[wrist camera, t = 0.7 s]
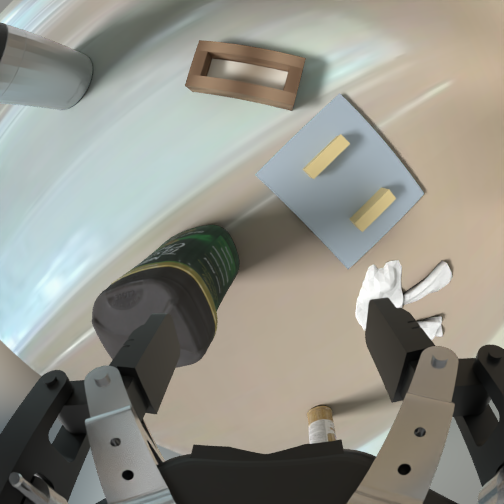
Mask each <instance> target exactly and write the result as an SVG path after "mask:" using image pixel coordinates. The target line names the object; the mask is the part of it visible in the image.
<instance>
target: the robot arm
mask: <svg viewBox="0 0 504 504" xmlns="http://www.w3.org/2000/svg"><path fill="white" fill-rule="evenodd" d="M92 72H93V68H92V62H91V60H90V58H89V57H88V56H86V55H85V54H83V53H80V52H78V51H76V50H73V49H71V48H69V47H67V46H64V45H62V44H60V43H57V42H55V41H52V40H50V39H47V38H44V37H42V36H39V35H36V34H34V33H31V32H28V31H25V30H22V29H19V28H16V27H13V26H10V25H6V24H3V23H0V103H1V104H14V105H25V106H34V107H42V108H50V109H58V110H65V109H68V108H70V107H72V106H73V105H75V104H76V103H77V102H78V101H79V100H80V99H81V98H82V96H83V95H84V94H85V92H86V90H87V88H88V86H89V84H90V81H91V78H92ZM365 338H366V344H367V347H368V349H369V352H370V354H371V356H372V358H373V360H374V363H375V365H376V367H377V369H378V371H379V374H380V376H381V378H382V380H383V383H384V385H385V387H386V390H387V392H388V394H389V397H390V399H391V402H397V401H401V400H403V403H402V405H401V408H400V410H399V412H398V414H397V417H396V419H395V421H394V423H393V425H392V427H391V429H390V432H389V434H388V436H387V438H386V440H385V442H384V443H383V445H382V447H381V449H380V451H379V453H378V455H377V457H375V456H373V455H371V454H368V453H365V452H361V451H357V450H350V449H343V445H342V440H335V441H328V442H321V443H312V444H304V445H301V446H297V447H294V448H290V449H287V450H283V451H279V452H275V453H271V454H260V453H255V452H250V451H245V450H240V449H236V448H232V447H222V446H205V445H193V449H192V453H191V454H187V455H182V456H178V457H175V458H172V459H169V460H167V461H165V460H164V458H163V457H162V455H161V453H160V451H159V449H158V447H157V445H156V443H155V441H154V439H153V437H152V435H151V433H150V431H149V429H148V427H147V425H146V423H145V421H144V419H143V417H144V415H145V413H151V414H157V412H158V409H159V407H160V404H161V402H162V399H163V397H164V394H165V392H166V389H167V387H168V384H169V382H170V380H171V377H172V375H173V372H174V370H175V367H176V365H177V363H178V360H179V357H180V344H179V340H178V337H177V333H176V329H175V326H174V322H173V318H172V316H171V314H169V313H155V314H151V316H150V317H149V318H148V320H147V321H146V323H145V324H144V325H141V326H139V327H138V328H137V329H135V330H134V331H133V332H132V333H131V334H130V336H129V337H128V339H127V340H126V342H125V343H124V344H123V347H121V349H120V350H119V352H118V353H117V354H116V356H115V357H114V359H113V360H112V362H111V363H110V365H109V366H101V367H98V368H95V369H93V370H92V371H91V372H89V373H88V374H87V376H86V377H85V380H80V381H69V379H68V377H67V375H66V374H65V373H64V372H63V371H60V370H54V371H50V372H48V373H46V374H44V375H43V376H42V377H41V378H40V379H39V380H38V382H37V383H36V384H35V386H34V387H33V388H32V390H31V391H30V393H29V394H28V395H27V396H26V398H25V399H24V401H23V402H22V403H21V405H20V406H19V407H18V409H17V410H16V412H15V413H14V415H13V416H12V418H11V419H10V420H9V422H8V423H7V425H6V426H5V428H4V430H3V431H2V433H1V434H0V504H68V500H69V497H70V495H71V492H72V489H73V487H74V484H75V482H76V480H77V477H78V475H79V472H80V470H81V468H82V465H83V463H84V460H85V458H86V456H87V453H88V451H89V449H90V447H91V451H92V455H93V459H94V462H95V466H96V470H97V473H98V476H99V479H100V483H101V486H102V489H103V491H104V494H105V497H106V498H105V499H103V500H101V501H100V502H98V503H96V504H457V503H456V502H454V501H452V500H450V499H448V498H446V497H444V496H442V495H440V494H438V493H436V492H435V491H433V490H431V489H429V488H430V485H431V483H432V480H433V477H434V475H435V472H436V470H437V467H438V464H439V461H440V458H441V455H442V452H443V449H444V446H445V442H446V439H447V435H448V432H449V428H450V424H451V420H452V417H454V418H455V420H456V422H457V425H458V427H459V429H460V431H461V433H462V436H463V438H464V440H465V443H466V445H467V448H468V450H469V452H470V455H471V457H472V460H473V463H474V465H475V468H476V470H477V473H478V476H479V479H480V482H481V485H482V489H481V490H480V493H479V496H478V503H477V504H504V349H503V348H501V347H499V346H496V345H485V346H483V347H481V348H480V349H479V351H478V353H477V356H476V358H467V359H458V357H457V355H456V354H455V353H454V352H453V351H452V350H450V349H448V348H446V347H442V346H435V345H434V343H433V342H432V341H431V339H430V338H429V337H428V335H427V334H426V333H425V332H424V330H423V329H422V328H420V325H419V324H418V323H417V322H416V320H415V319H414V318H413V316H412V315H411V314H410V313H409V312H407V311H406V310H404V309H402V308H401V307H400V308H396V307H395V305H394V304H393V303H392V301H391V300H390V299H389V298H388V297H386V298H378V299H371V300H370V301H369V304H368V314H367V323H366V332H365ZM491 399H492V401H493V403H494V404H495V406H496V408H497V410H498V411H499V415H500V420H499V422H498V420H497V418H496V416H495V415H494V413H493V411H492V409H491V408H490V406H489V402H490V400H491ZM56 418H58V419H59V420H60V421H61V423H62V424H63V425H62V427H61V429H60V430H59V432H58V434H57V436H56V438H55V440H54V441H53V443H52V444H51V443H50V441H49V438H48V434H49V430H50V428H51V427H52V425H53V423H54V421H55V420H56Z"/></svg>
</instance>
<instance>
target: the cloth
mask: <svg viewBox="0 0 504 504" xmlns="http://www.w3.org/2000/svg"><path fill="white" fill-rule="evenodd" d="M401 269H402V266H401V265H400V263H399V260H394V261H389V262H387V263H386V264H385V266H384V268H380V269H378V268H377V267H376V266H375V265H371V266H370V267H368V271H367V273H366V277H365V279H364V281H363V285H362V288H361V290H360V295H359V297H358V298H357V304H356V311H355V312H356V318H357V320H358V322H359V324H360V325H362V327H363V329H364V331H365V330H366V323H367V314H368V304H369V301H370V300H371V299H378V298H386V297H388V298H389V299H390V300H391V301H392V303H393V304H394V305H395V307H396V308H400V307H401V308H402V305H404V304H409V303H412V302H415V301H417V300H420V299H421V298H423V297H424V296H426V295H427V294H429V293H433V292H437V291H439V290H440V289H441V288H443V287H444V286H446V285H447V284H448V283H449V282H450V280H451V278H452V273H451V270H450V268H449V266H448V264H447V263H445V262H444V261H443V260H442V261H441V262H440V263H439V264H438V265H437V266H436V268H435V269H434V270H433V271H432V272H431V273H430V275H429V276H428V277H427V278H425V279H424V280H422V281H420V282H419V283H418V284H416V285H415V286H413V287H412V288H410V289H408V290H407V291H406V292H404V293H403V294H402V289H401ZM417 323H418V324H419V325H420V328H422V329H423V330H424V332H425V333H426V334H427V335H428V337H429V338H430V339H431V340H432V339H434V337H435V336H438V337H442V336H443V333H442V327H441V323H442V317H441V316H439V317H431V318H427V319H425V320H423V321H419V322H417Z"/></svg>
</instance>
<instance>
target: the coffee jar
mask: <svg viewBox="0 0 504 504" xmlns="http://www.w3.org/2000/svg"><path fill="white" fill-rule="evenodd" d="M238 270H239V257H238V254H237V250H236V247H235V245H234V242H233V240H232V238H231V237H230V235H229V233H228V232H227V231H226V230H225V229H223V228H222V227H220V226H217V225H206V226H200V227H196V228H192V229H190V230H187V231H184V232H181V233H179V234H177V235H175V236H173V237H171V238H170V239H169V240H167V241H166V242H165V243H164V244H162V245H161V246H160V247H159V248H158V249H157V250H156V251H155V252H153V253H152V254H151V255H150V256H148V257H147V258H146V259H145V260H144V261H142V262H141V263H140V264H138V265H137V266H135V267H134V268H133V269H132V270H130V271H129V272H127V273H126V274H124V275H123V276H122V277H120V278H119V279H117V280H116V281H114V282H113V283H112V284H111V285H110V286H109V287H108V288H107V289H106V290H104V291H103V292H102V293H101V294H100V295H99V296H98V298H97V299H96V301H95V303H94V307H93V312H92V324H93V327H94V329H95V331H96V333H97V335H98V337H99V339H100V341H101V343H102V344H103V346H104V348H105V349H106V351H107V352H108V354H109V355H110V357H111V358H112V359H114V357H115V356H116V354H117V353H118V352H119V350H120V349H121V347H123V344H124V343H125V342H126V340H127V339H128V337H129V336H130V334H131V333H132V332H133V331H134V330H135V329H137V328H138V327H139V326H141V325H144V324H145V323H146V321H147V320H148V318H149V317H150V316H151V314H155V313H169V314H171V316H172V318H173V322H174V326H175V329H176V333H177V337H178V340H179V344H180V357H179V360H178V363H177V365H176V367H182V366H186V365H190V364H194V363H196V362H198V361H199V360H200V359H201V358H202V357H203V356H204V354H205V353H206V351H207V349H208V347H209V345H210V344H211V342H212V340H213V338H214V336H215V334H216V330H217V313H216V311H217V309H218V307H219V305H220V303H221V302H222V300H223V298H224V296H225V294H226V292H227V291H228V289H229V287H230V286H231V284H232V282H233V281H234V279H235V277H236V275H237V273H238ZM176 367H175V368H176Z"/></svg>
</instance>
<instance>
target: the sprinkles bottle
mask: <svg viewBox="0 0 504 504" xmlns="http://www.w3.org/2000/svg"><path fill="white" fill-rule="evenodd" d="M307 418H308V422H309V441H310V444H312V443H321V442H328V441H335V440H336V434H335V428H334V423H333V418H332V410H331V409H330V408H329V407H327V406H317V407H314V408H312V409H311V410H309V412H308V413H307Z"/></svg>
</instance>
